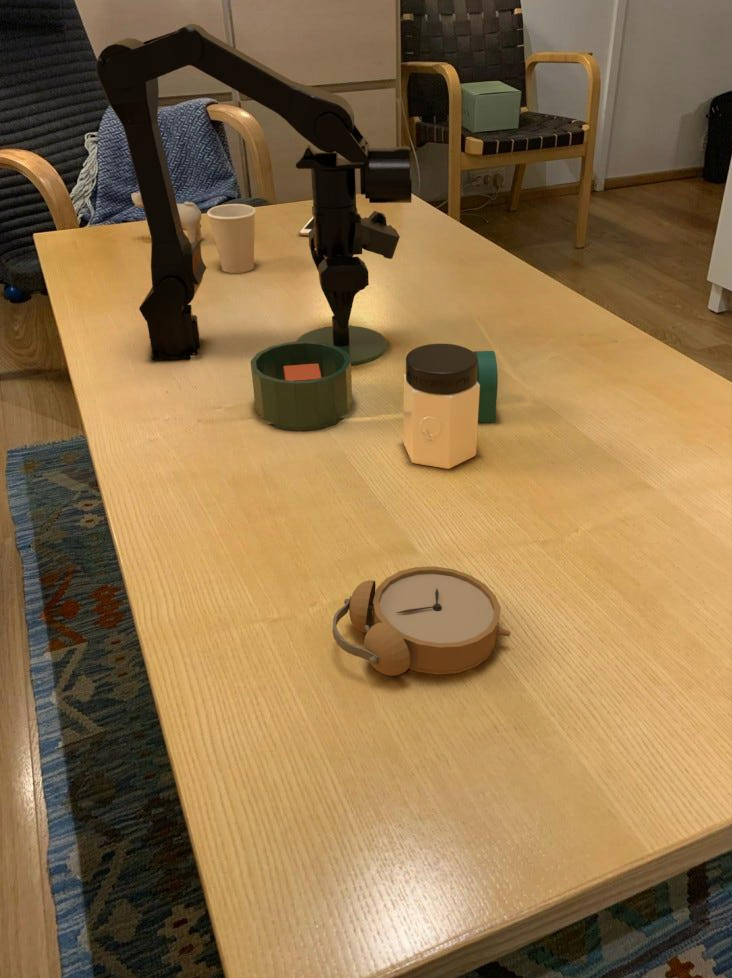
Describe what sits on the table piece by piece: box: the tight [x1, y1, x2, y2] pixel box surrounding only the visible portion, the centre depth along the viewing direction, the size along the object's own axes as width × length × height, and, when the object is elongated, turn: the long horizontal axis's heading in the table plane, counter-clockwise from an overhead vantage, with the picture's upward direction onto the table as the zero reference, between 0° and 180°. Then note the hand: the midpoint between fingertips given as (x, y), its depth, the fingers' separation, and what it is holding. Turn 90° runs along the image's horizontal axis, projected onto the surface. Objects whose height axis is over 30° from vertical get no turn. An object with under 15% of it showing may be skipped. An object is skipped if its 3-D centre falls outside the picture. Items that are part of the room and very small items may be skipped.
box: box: [284, 363, 322, 381], centre depth 112 cm, size 4×4×4 cm
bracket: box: [473, 350, 499, 424], centre depth 115 cm, size 18×7×8 cm, turn 4°
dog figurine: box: [130, 191, 202, 243], centre depth 166 cm, size 5×13×11 cm, turn 82°
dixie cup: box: [206, 203, 257, 274], centre depth 154 cm, size 8×8×10 cm
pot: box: [250, 341, 353, 432], centre depth 112 cm, size 12×12×6 cm
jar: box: [403, 343, 480, 470], centre depth 101 cm, size 9×8×12 cm
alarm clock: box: [332, 565, 511, 677], centre depth 77 cm, size 11×5×15 cm
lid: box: [295, 314, 388, 366], centre depth 127 cm, size 13×13×5 cm
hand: (339, 315), depth 125 cm, fingers open, 9 cm apart
